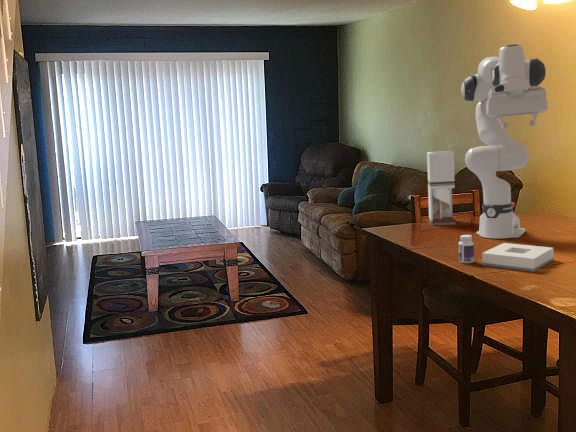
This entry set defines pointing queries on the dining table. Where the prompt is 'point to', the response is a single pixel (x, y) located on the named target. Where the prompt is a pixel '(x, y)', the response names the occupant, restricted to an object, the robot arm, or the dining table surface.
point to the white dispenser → (440, 187)
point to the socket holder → (517, 257)
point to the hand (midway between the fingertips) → (518, 127)
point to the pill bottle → (466, 249)
